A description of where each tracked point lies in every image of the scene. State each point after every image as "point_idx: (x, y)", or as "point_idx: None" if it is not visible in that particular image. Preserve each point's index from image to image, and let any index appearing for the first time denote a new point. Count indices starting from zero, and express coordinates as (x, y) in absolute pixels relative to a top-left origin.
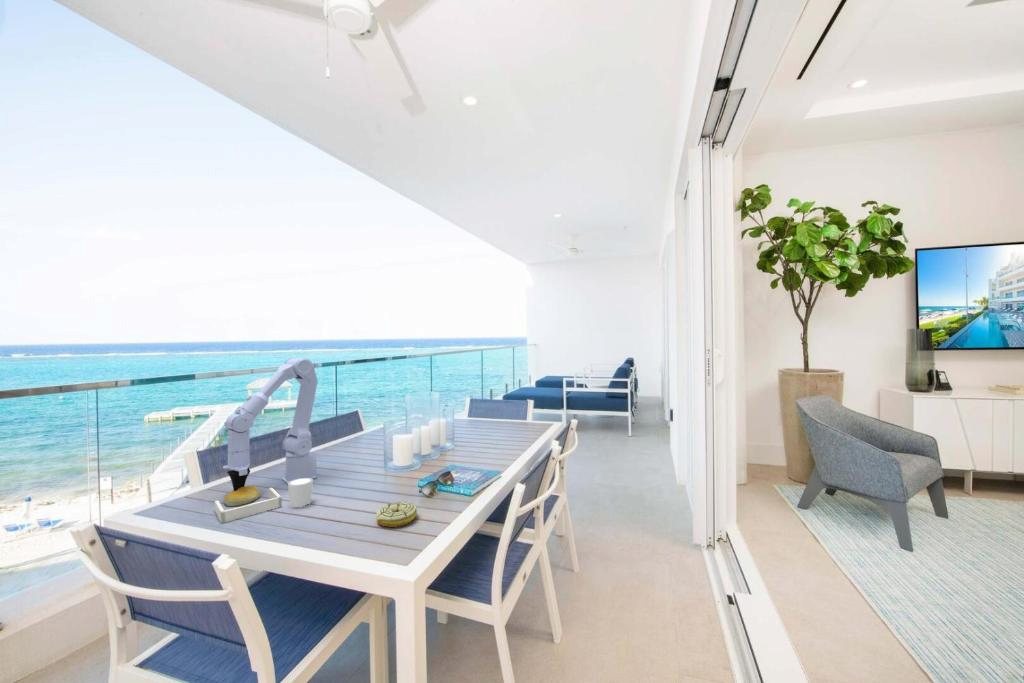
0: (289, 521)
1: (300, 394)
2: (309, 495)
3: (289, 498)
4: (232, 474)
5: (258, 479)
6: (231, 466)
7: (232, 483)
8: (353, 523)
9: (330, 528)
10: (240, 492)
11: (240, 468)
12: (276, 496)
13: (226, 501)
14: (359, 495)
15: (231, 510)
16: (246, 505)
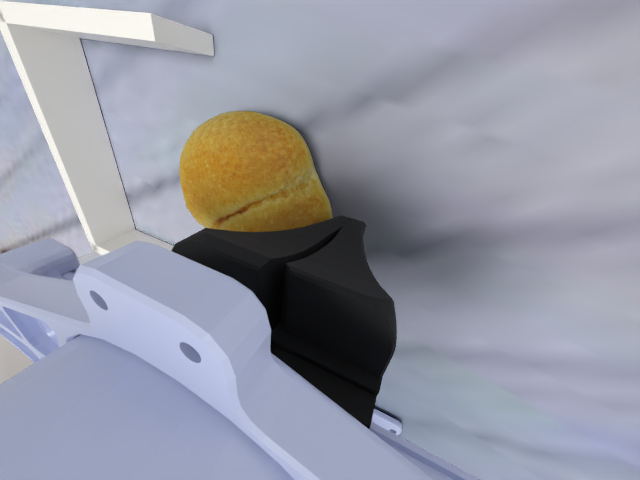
0: (44, 188)
1: None
2: None
3: (93, 258)
4: (179, 253)
5: (551, 428)
6: (69, 342)
7: (340, 240)
8: (22, 243)
9: (8, 212)
10: (195, 195)
11: (37, 323)
12: (112, 249)
13: (221, 114)
14: None
15: (16, 58)
16: (48, 132)
